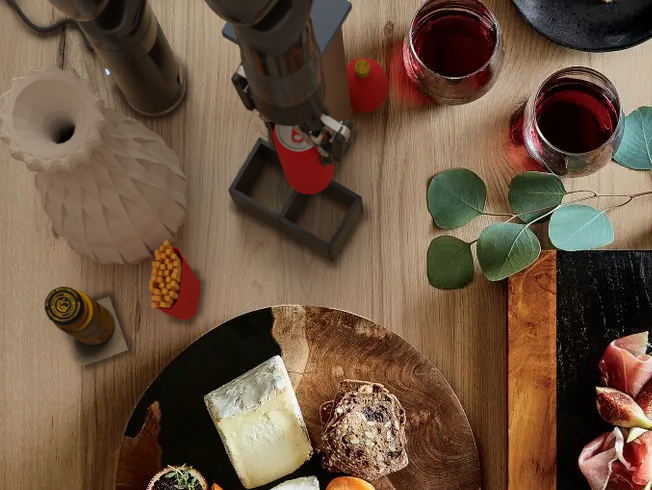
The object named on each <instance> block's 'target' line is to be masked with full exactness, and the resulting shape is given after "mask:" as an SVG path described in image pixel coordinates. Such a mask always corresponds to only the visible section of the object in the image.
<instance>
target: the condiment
mask: <svg viewBox="0 0 652 490" xmlns="http://www.w3.org/2000/svg"><path fill="white" fill-rule="evenodd" d="M44 311H45V314H46V316H47V318H48V320H49V321H51V322H52V323H53V325H54V326H55V327H56V328H57V329H58V330H60V331H62V332H63V333H65V334H67V335H69V336H71V339H72V341H73V344H74V348H75V350H76V353H77V355H78V359H79V362H80V365H81V367H85V366H88V365H91V364H94V363H96V362H99V361H102V360H105V359H107V358H111V357H112V356H116V355H118V354H121V353H123V352H126V351H128V350H129V348H128V345H127V342H126V339H125V337H124V333H123V331H122V329H121V324H120V322H119V320H118V316H117V314H116V311H115V307H114V305H113V303H112V300H111V298H110V296H107V297H104V298H101V299H98V300H95V299H93V298H92V297H90V296H88V294H86V293H84V292H82V291H81V290H78V289H74V288H72V287H69V286H59V287H56V288H54V289H52V290H51V291H50V292H49V293H48V295H47V296H46V298H45V300H44Z"/></svg>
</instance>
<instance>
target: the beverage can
mask: <svg viewBox="0 0 652 490" xmlns="http://www.w3.org/2000/svg"><path fill="white" fill-rule="evenodd" d="M311 132H312V131H311ZM311 132H310V133H311ZM326 136H327V135H326V134H325V136H324V137H323V139H322V143H323V142H324V140H325V138H326ZM273 139H274V143H275V146H276V149H277V152H278V155H279V158H280V161H281V164H282V167H283V170H284V171H283V170H282V171H283V173H284V177H285V179H286V181H287V183H288V184H289V186H290V187H291V188H292V189H293V190H294V189H295V190H296V191H298V192H300V193H304V194H311V195H315V194H317V193H321V192H320V191H322V190H323V189H325V188H326V187H327V186H328V185H329V183H330V182H331V180H332V179H333V177H334V173H335V170H334V165H333V164H332V165H331V166H330V165H328V166H327V167H324V166H322V165H321V164H320V159H319V155H318V150H317V149H316V148H315V146H312V145H309V144H307V143H306V142H305V140H304V139H303V138H302V136H301V135H300V134H299V132H298V131H296V130H293V128H292V127H291V126H282V125H278V124H276V123H275V125H274V130H273Z"/></svg>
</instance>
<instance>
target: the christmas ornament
mask: <svg viewBox="0 0 652 490" xmlns="http://www.w3.org/2000/svg"><path fill="white" fill-rule="evenodd" d="M346 68H347V76H348V85H349V93H350V102H351V110H352V111H353V112H355V113H359V114H369V113H373V112H375V111H377V110H378V109H379V108H380V107H381V106H383V104H384V102H385V101H386V99H387V97H388V93H389V80H388V79H389V78H388V75H387V73H386V71H385V70H384V68H383V66H381V64H380V63H378V62H377V61H375V60H374V59H371V58H367V57H360V58H356V59H353V60H351V61H350V62H349V63H347V64H346Z"/></svg>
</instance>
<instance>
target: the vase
mask: <svg viewBox="0 0 652 490" xmlns="http://www.w3.org/2000/svg"><path fill="white" fill-rule="evenodd" d="M11 80H12V84H11V89H9V90H8V91H3V92H2V93H1V95H0V98H1V100H2V105H3V106H2V107H1V109H0V124H1V129H0V140H1V141H2V142H4V143H6V144H7V145H8V146H9V149H8V150H9V155H10V157H11V158H12V159H14V160H17V161H20V162H24V164H25V166H26V168H27V169H28V170H29V171H30V172H33V181H34V183H33V184H34V186H35V189H36V190H37V191H38V192H39V194H40V202H41V205H42V207H43V211H44V213H45V214H46V215H47V216H48V217H49V220H50V222H51V225H52V226H51V227H52V228H53V229H54V231H55V234H57V235H58V236H59V237H61V238H63V239H64V240H65V242H66V243H67V244H68V246H69V248H70V249H71V250H72V251H74V252H75V254H80V255H83V256H87V257H88V258H90V259H91V260H92V261H94V262H96V263H98V264H103V265H117V264H120V265H124V266H125V265H126V266H136V265H139V264H141V262H142V261H144V260H145V259H151V258H155V255H154V254H155V250H159V251H160V246H164V241H166V240H168V241H169V243H170V244H173V243H175V242H176V240H177V235H178V231H179V228H180V226H181V225H183V224H184V223H185V221H186V218H187V202H186V200H187V195H188V182H187V176H185V174H184V172H183V171H182V168H181V164H180V163H181V162H180V157H179V156H178V155H177V152H175V151H174V150H173V149H171V148H170V147H168V146H167V144H166V142H165V141H164V139H163V137H162V136H161V135H160V134H158V133H157V132H155V131H153V130H152V129H150V128H147V126H145V125H144V123H142V122H141V121H139V120H137V119H136V118H134V117H131V116H126V115H125V114H121V112H119V111H118V110H116V109H115V108H114V109H113V108H110V107H106V102H105V100H104V99H103V98H102V97H100V96H99V95H97V94H96V88H95V84H94V82H93V81H92V80H90V79H87V78H81V76H80V75H79V73H78V72H77V70H76V68H74V67H67V68H66V69H61V68H60V67H59V66H57V64H55V63H49V64H47V66H46V67H45V68H38V67H35V66H32V65H31V66H30V67H29V68H28V72H27V73H26V75H24V76H20V77H19V76H14V77H13V78H12V79H11Z"/></svg>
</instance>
